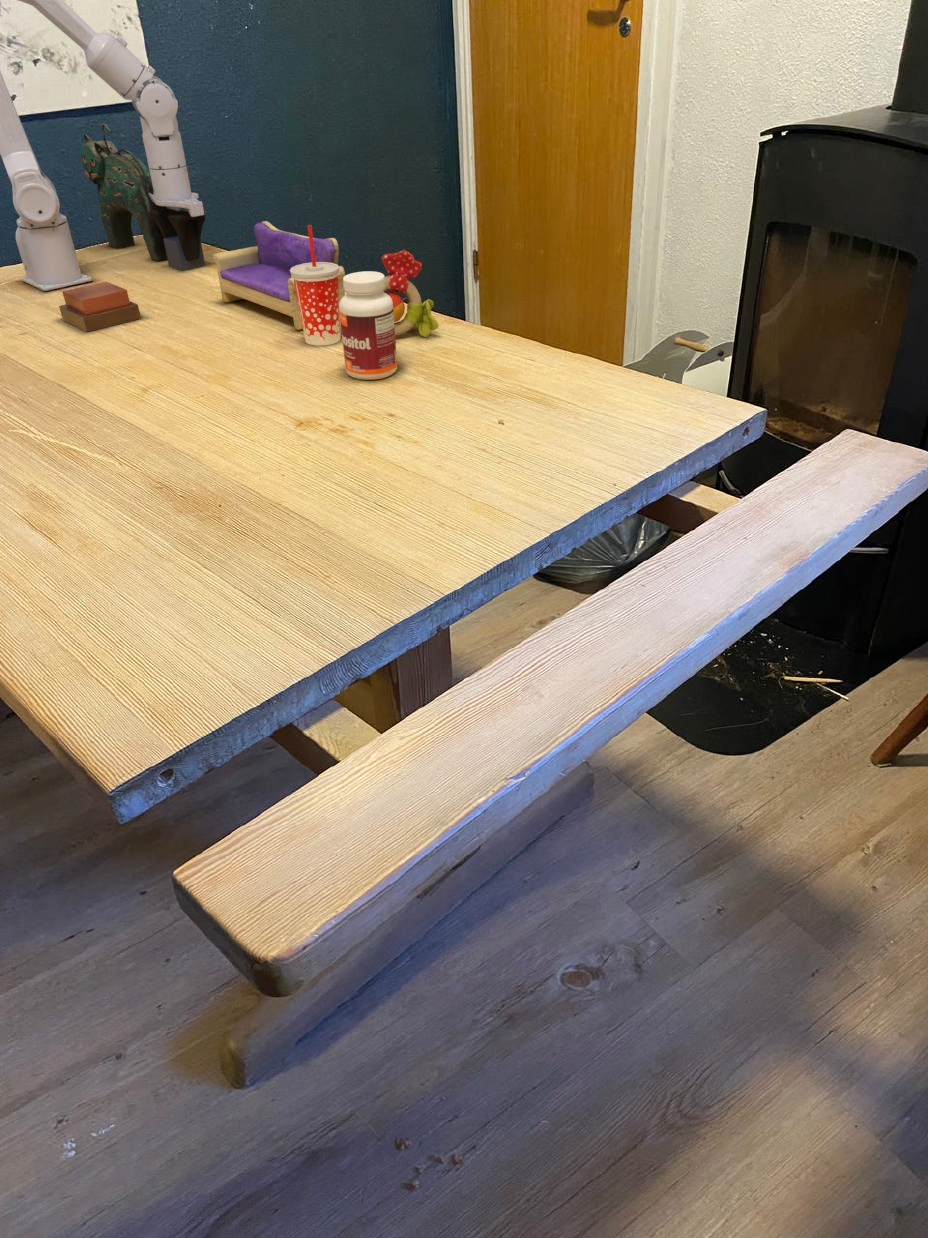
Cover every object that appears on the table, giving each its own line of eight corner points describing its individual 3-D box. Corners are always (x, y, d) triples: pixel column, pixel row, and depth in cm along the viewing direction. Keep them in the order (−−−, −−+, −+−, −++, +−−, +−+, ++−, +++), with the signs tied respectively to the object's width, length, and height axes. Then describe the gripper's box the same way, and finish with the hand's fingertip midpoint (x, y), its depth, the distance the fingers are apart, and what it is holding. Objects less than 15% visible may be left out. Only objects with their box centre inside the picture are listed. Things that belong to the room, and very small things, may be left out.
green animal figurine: (99, 245, 164) (68, 120, 152) (132, 239, 167) (104, 116, 156) (151, 264, 152) (122, 130, 140) (186, 256, 156) (159, 125, 144)
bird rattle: (397, 362, 116) (456, 324, 116) (356, 285, 109) (418, 245, 109) (382, 348, 121) (438, 311, 121) (341, 273, 114) (401, 235, 114)
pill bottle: (335, 373, 107) (324, 278, 101) (371, 359, 111) (363, 266, 105) (372, 385, 104) (363, 287, 98) (408, 369, 108) (402, 274, 101)
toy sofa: (219, 301, 133) (205, 228, 127) (269, 289, 138) (258, 217, 132) (299, 333, 120) (288, 252, 114) (351, 318, 125) (343, 240, 119)
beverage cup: (354, 341, 117) (343, 225, 109) (311, 350, 114) (296, 233, 106) (334, 329, 121) (321, 217, 113) (292, 338, 119) (276, 224, 110)
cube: (168, 266, 151) (163, 238, 148) (192, 260, 153) (187, 233, 151) (182, 270, 148) (176, 242, 145) (205, 265, 150) (200, 237, 148)
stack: (62, 320, 128) (54, 291, 126) (115, 307, 132) (108, 279, 130) (87, 332, 123) (79, 302, 121) (141, 318, 127) (134, 289, 125)
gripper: (213, 167, 140) (229, 259, 147) (168, 158, 148) (185, 245, 156) (172, 174, 136) (191, 268, 144) (128, 164, 145) (148, 253, 152)
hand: (185, 256), depth 150 cm, fingers closed on cube, 4 cm apart
